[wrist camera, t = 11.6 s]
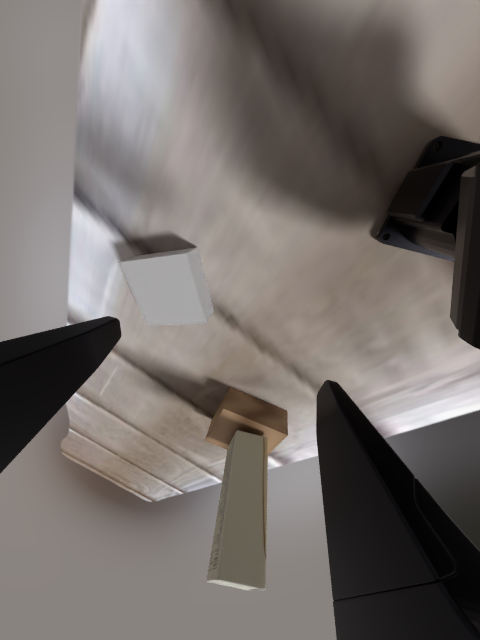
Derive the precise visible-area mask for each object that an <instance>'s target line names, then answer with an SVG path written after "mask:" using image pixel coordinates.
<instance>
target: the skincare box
mask: <svg viewBox="0 0 480 640" xmlns="http://www.w3.org/2000/svg"><path fill="white" fill-rule="evenodd" d="M267 468H268V438H267V437H263V436H259V435H255V434H251V433H247V432H243V431H239V430H237V431H236V433H235V435H234V437H233V438H232V440H231V442H230V444H229V447H228V449H227V456H226V462H225V469H224V475H223V481H222V488H221V494H220V500H219V506H218V513H217V519H216V525H215V532H214V539H213V544H212V550H211V557H210V563H209V570H208V576H207V582H211V583H216V584H220V585H225V586H230V587H235V588H240V589H243V590H246V591H249V590H266V542H267V541H266V540H267Z"/></svg>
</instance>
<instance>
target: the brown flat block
mask: <svg viewBox="0 0 480 640" xmlns="http://www.w3.org/2000/svg"><path fill="white" fill-rule="evenodd" d="M237 430H239V431H243V432H247V433H251V434H255V435H259V436H263V437H267V438H268V454H269V453H270V452H271V451H272V450H273V449H274V448H275V447H276V446H277V445H278V444H279V443H280V442H281V441H282V440H283V439H284V438H285V437H286V436H288V424H287V411H286V410H284V409H281V408H279V407H277V406H274V405H272V404H270V403H267V402H265V401H263V400H260V399H258V398H255V397H253V396H251V395H248V394H246V393H244V392H241V391H239V390H237V389H234V388H232V387H229V389H228V391H227V393H226V395H225V397H224V398H223V400H222V402H221V404H220V406H219V407H218V409H217V411H216V413H215V415H214V416H213V418H212V421H211V424H210V427H209V430H208V433H207V436H206V439H205V441H208V442H210V443H212V444H215V445H217V446H220V447H222V448H225V449H228V447H229V444H230V442H231V440H232V438H233V437H234V435H235V433H236V431H237Z"/></svg>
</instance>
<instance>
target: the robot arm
mask: <svg viewBox="0 0 480 640" xmlns="http://www.w3.org/2000/svg"><path fill="white" fill-rule="evenodd" d="M435 143H438V145H439V147H438V149H437V150H436V151H435V152H434V151H433V146H434V144H435ZM387 212H388V217H387V219H386V221H385V223H384V225H383V227H382V228H381V230H380V232H379V234H378V236H377V240H378V241H379V242H381V243H383V244H387V245H391V246H395V247H399V248H403V249H407V250H411V251H415V252H419V253H423V254H426V255H430V256H434V257H438V258H442V259H446V260H450V261H454V272H453V285H452V298H451V311H450V318H451V320H452V322H453V323H454V325H455V327H456V328H457V329H458V330H459V333H458V336H459V337H460V338H461V339H463V340H464V341H466V342H467V343H469V344H470V345H472V346H474V347H476V348H478V349H480V144H476V143H472V142H467V141H463V140H458V139H454V138H449V137H445V136H440V137H437V138H435V139H432V140H431V141H430V142H429V143H428V144H427V146H426V147H425V149H424V151H423V153H422V155H421V156H420V158H419V160H418V162H417V164H416V166H415V167H414V169H413V170H411V171H410V172H408V173H407V175H406V177H405V179H404V181H403V183H402V185H401V186H400V188H399V190H398V192H397V194H396V196H395V198H394V200H393V201H392V203H391V205H390V207H389V209H388V211H387ZM386 233H388V237H387V238H386V239H383V236H384V235H385V234H386ZM120 338H121V328H120V321H119V320H118V319H117V318H114V317H110V316H107V317H103V318H98V319H94V320H90V321H86V322H82V323H78V324H73V325H69V326H65V327H61V328H57V329H52V330H48V331H44V332H40V333H36V334H32V335H28V336H23V337H19V338H15V339H11V340H7V341H2V342H0V473H1V472H2V471H3V470H4V469H5V468H6V467H7V466H8V465H9V463H10V462H11V461H12V460H13V459H14V458H15V457H16V456H17V455H18V454H19V453H20V452H21V451H22V449H23V448H24V447H25V446H26V445H27V444H28V443H29V442H30V441H31V440H32V439H33V438H34V437H35V435H36V434H37V433H38V432H39V431H40V430H41V429H42V428H43V427H44V426H45V425H46V424H47V422H48V421H49V420H50V419H51V418H52V417H53V416H54V415H55V414H56V413H57V411H58V410H59V409H60V408H61V407H62V406H63V405H64V404H65V403H66V402H67V401H68V400H69V399H70V398H71V397H72V395H73V394H74V393H75V392H76V391H77V390H78V389H79V388H80V387H81V386H82V385H83V384H84V383H85V381H86V380H87V379H88V378H89V377H90V376H91V375H92V374H93V373H94V372H95V371H96V369H97V368H98V367H99V366H100V365H101V363H102V362H103V361H104V359H105V358H106V357H107V355H108V354H109V353H110V351H111V350H112V349H113V347H114V346H115V345H116V343H117V342H118V341H119V339H120ZM316 432H317V446H318V456H319V465H320V475H321V485H322V494H323V505H324V514H325V525H326V535H327V544H328V554H329V565H330V574H331V583H332V584H331V585H332V594H333V600H334V601H333V607H334V616H335V626H336V636H337V640H480V551H479V549H478V548H477V547H476V546H475V545H474V544H473V543H472V542H471V541H470V539H469V538H468V537H467V536H466V535H465V534H464V533H463V532H462V531H461V529H460V528H459V527H458V526H457V525H456V524H455V523H454V522H453V520H452V519H451V518H450V517H449V516H448V515H447V514H446V512H445V511H444V510H443V509H442V508H441V506H440V505H439V504H438V503H437V502H436V501H435V500H434V498H433V497H432V496H431V495H430V493H429V492H428V491H427V490H426V489H425V488H424V487H423V485H422V484H421V483H420V481H419V480H418V479H417V478H415V476H414V474H413V473H412V472H411V471H410V469H409V468H408V467H407V466H406V465H405V463H404V462H403V461H402V460H401V459H400V457H399V456H398V455H397V454H396V453H395V451H394V450H393V449H392V448H391V447H390V446H389V444H388V443H387V442H386V441H385V439H384V438H383V437H382V436H381V434H380V433H379V432H378V431H377V430H376V428H375V427H374V426H373V425H372V424H371V422H370V421H369V420H368V419H367V418H366V416H365V415H364V414H363V413H362V411H361V410H360V409H359V408H358V407H357V405H356V404H355V403H354V402H353V401H352V399H351V398H350V397H349V396H348V395H347V393H346V392H345V391H344V390H343V389H342V387H341V386H340V385H339V384H338V383H337V382H334V381H331V380H326V381H325V382H324V384H323V385H322V387H321V388H320V390H319V392H318V394H317V422H316Z"/></svg>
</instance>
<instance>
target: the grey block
mask: <svg viewBox="0 0 480 640" xmlns="http://www.w3.org/2000/svg"><path fill="white" fill-rule="evenodd" d="M119 263H120V266H121V268H122V270H123V272H124V275H125V277H126V279H127V281H128V284H129V286H130V288H131V290H132V293H133V295H134V297H135V299H136V302H137V304H138V306H139V308H140V311H141V313H142V315H143V318H144V320H145V322H146V324H147V326H151V325H175V324H200V323H206V322H207V321H208V319H209V318H210V316H211V314H212V313H213V307H212V303H211V299H210V295H209V290H208V286H207V282H206V278H205V274H204V270H203V266H202V262H201V258H200V254H199V250H198V247H195V248H188V249H181V250H174V251H167V252H160V253H153V254H146V255H139V256H135V257H132V258H129V259H127V260H124V261H121V262H119Z"/></svg>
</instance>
